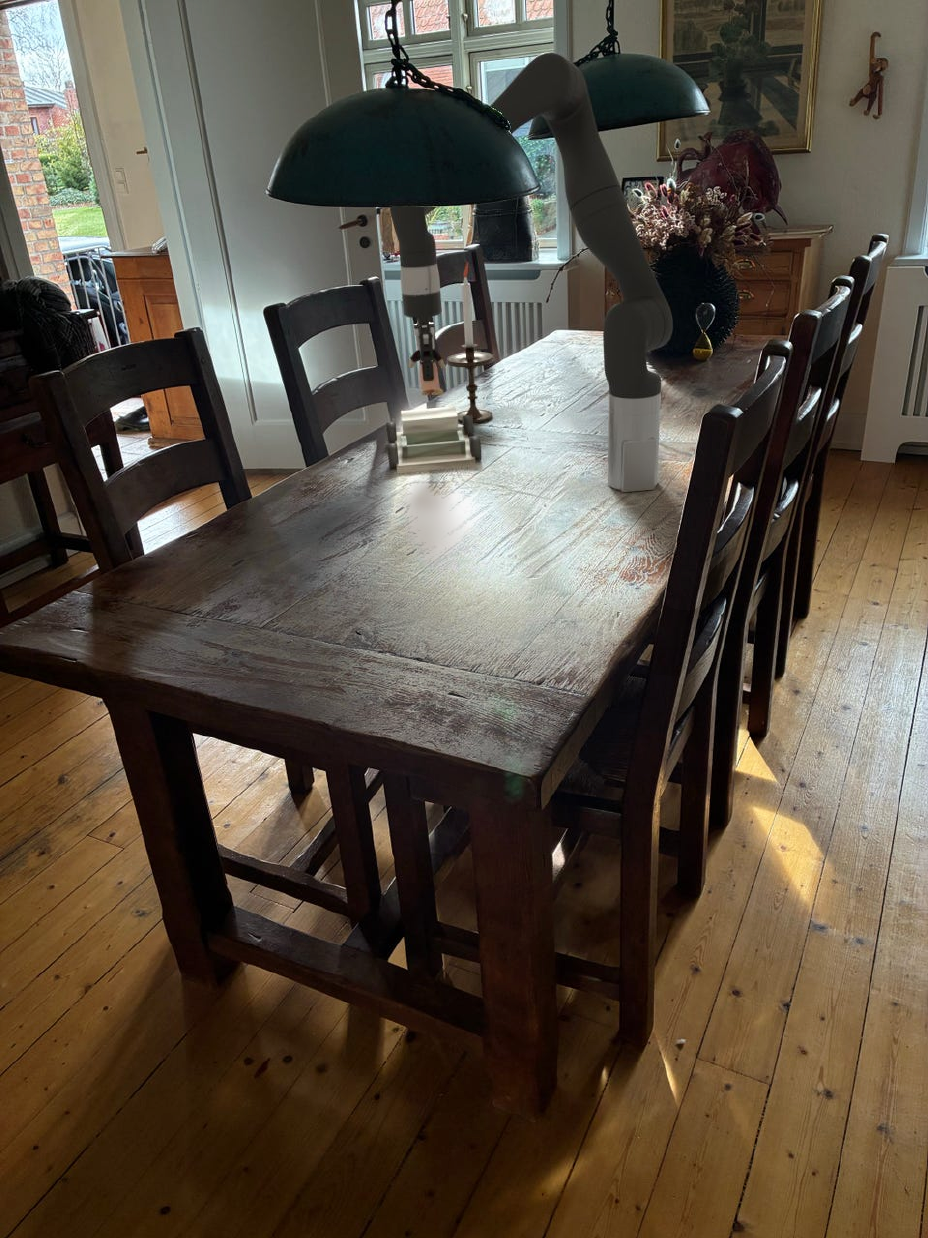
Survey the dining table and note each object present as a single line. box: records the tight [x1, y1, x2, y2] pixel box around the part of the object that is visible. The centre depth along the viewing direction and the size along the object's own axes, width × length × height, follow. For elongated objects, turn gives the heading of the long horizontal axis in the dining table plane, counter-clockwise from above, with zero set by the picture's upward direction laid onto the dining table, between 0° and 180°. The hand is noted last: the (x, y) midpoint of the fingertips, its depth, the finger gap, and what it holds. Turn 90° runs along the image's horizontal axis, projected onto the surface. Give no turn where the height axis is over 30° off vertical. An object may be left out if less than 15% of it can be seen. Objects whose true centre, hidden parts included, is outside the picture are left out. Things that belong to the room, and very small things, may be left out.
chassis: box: [386, 406, 482, 474], centre depth 196 cm, size 24×19×6 cm
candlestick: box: [446, 261, 495, 425], centre depth 210 cm, size 11×11×35 cm
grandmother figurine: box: [408, 339, 446, 396], centre depth 185 cm, size 8×4×13 cm, turn 84°
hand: (428, 377), depth 187 cm, fingers closed on grandmother figurine, 3 cm apart
